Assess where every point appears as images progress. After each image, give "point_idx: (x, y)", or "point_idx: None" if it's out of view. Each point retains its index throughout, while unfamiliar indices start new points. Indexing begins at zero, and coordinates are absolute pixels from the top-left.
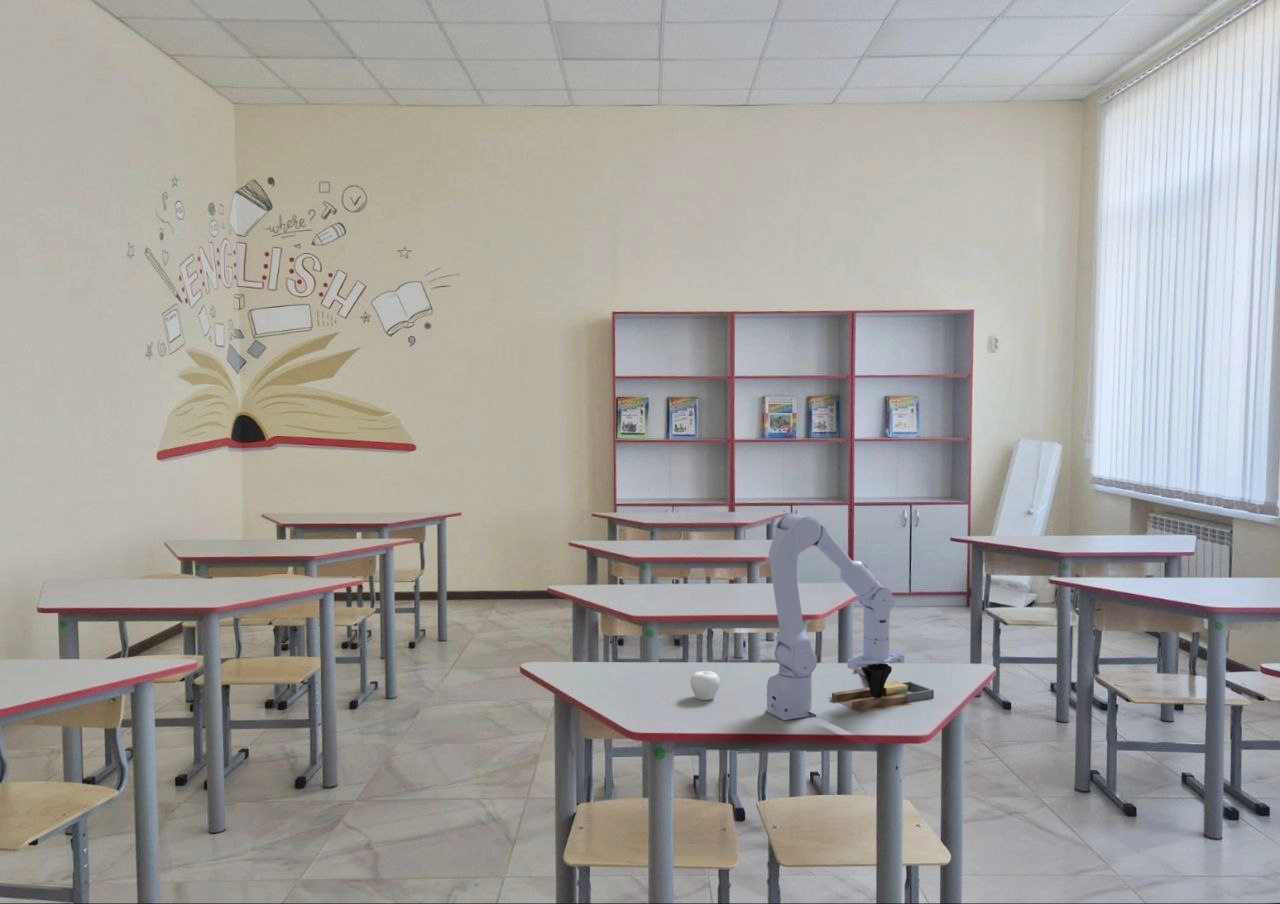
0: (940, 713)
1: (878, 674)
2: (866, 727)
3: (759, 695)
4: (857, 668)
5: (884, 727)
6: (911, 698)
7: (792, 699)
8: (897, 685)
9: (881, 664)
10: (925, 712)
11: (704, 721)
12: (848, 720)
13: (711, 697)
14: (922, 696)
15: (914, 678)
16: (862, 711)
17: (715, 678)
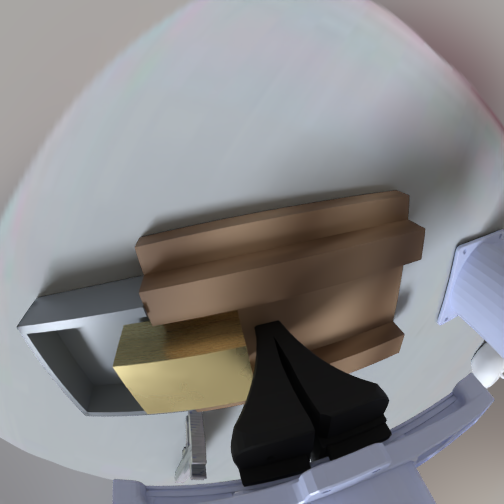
0: (46, 167)
1: (342, 389)
2: (423, 99)
3: (432, 375)
4: (184, 480)
5: (377, 66)
6: (115, 298)
7: None
8: (163, 375)
9: (296, 468)
10: (96, 190)
11: None
12: (432, 182)
13: (486, 345)
14: (63, 309)
15: (71, 440)
16: (399, 203)
17: (501, 363)
